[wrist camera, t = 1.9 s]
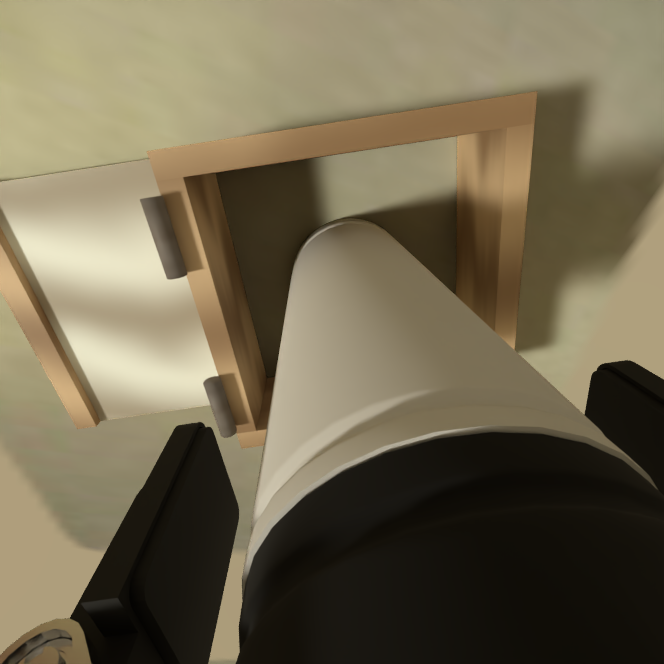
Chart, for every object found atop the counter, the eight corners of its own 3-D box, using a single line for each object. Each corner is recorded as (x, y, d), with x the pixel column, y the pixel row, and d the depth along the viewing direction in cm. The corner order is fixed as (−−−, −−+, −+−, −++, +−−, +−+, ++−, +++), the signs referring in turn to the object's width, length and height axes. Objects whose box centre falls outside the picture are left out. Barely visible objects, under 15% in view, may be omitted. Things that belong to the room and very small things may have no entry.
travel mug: (426, 237, 20) (1600, 1015, 2) (375, 339, 22) (651, 1095, 4) (318, 192, 19) (605, 1287, 1) (277, 305, 21) (79, 1179, 3)
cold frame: (-36, 187, 18) (-182, 199, 12) (478, 109, 17) (550, 86, 12) (87, 417, 24) (23, 490, 18) (470, 361, 23) (517, 420, 18)
